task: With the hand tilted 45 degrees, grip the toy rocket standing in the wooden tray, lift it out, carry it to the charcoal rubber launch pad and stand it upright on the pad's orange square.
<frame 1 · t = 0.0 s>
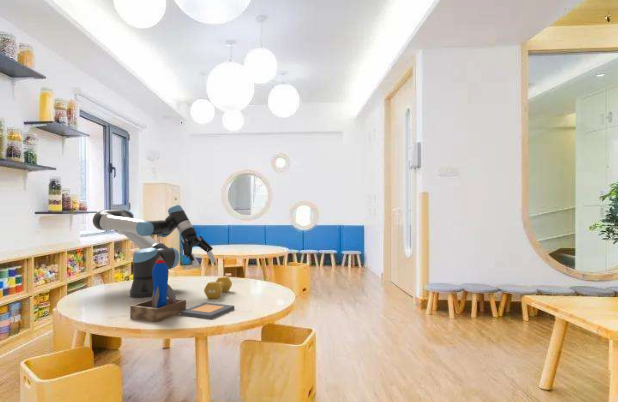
hand: (206, 264, 204), 15 cm above the table, tool tilted 35°, fingers open, 13 cm apart
wooden tray: (158, 314, 165), on the table
launch pad: (208, 312, 168), on the table
dumbbell: (218, 295, 200), on the table
toy rocket: (158, 315, 165), resting in wooden tray
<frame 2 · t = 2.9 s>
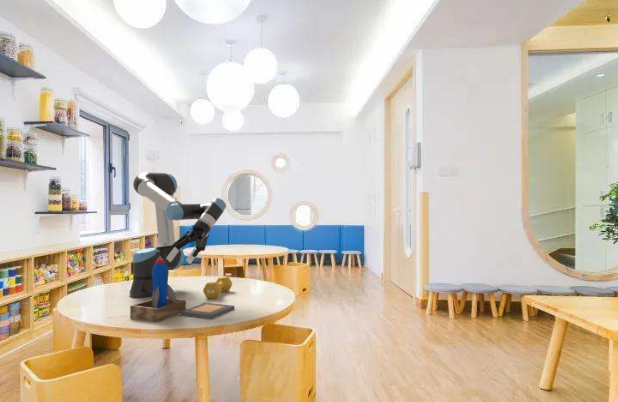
hand: (177, 261, 173), 21 cm above the table, tool tilted 45°, fingers open, 13 cm apart
nothing on the table moved.
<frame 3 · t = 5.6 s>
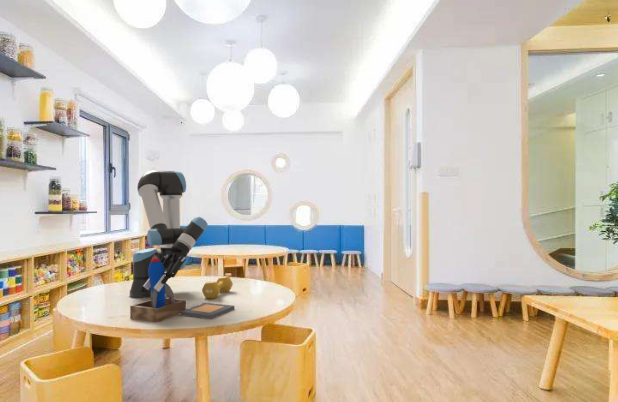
hand: (151, 288, 162), 12 cm above the table, tool tilted 45°, fingers closed on toy rocket, 7 cm apart
toy rocket: (158, 314, 165), resting in wooden tray, touching gripper
everything else where it was.
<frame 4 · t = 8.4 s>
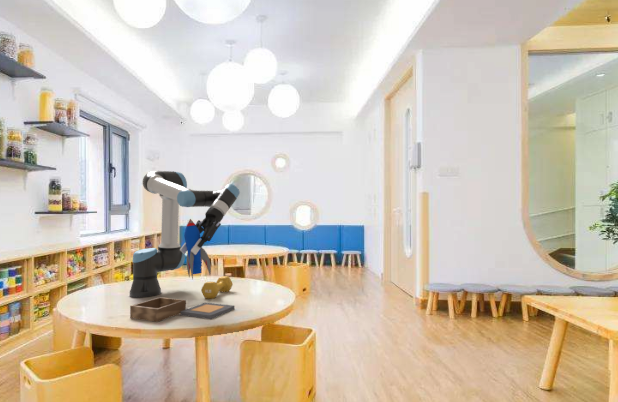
hand: (187, 252, 164), 26 cm above the table, tool tilted 45°, fingers closed on toy rocket, 7 cm apart
toy rocket: (195, 278, 167), point 15 cm above the table, touching gripper
everything else where it was.
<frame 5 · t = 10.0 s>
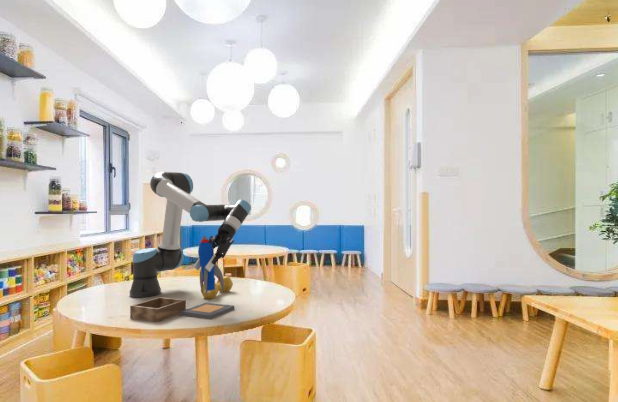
hand: (201, 268, 165), 19 cm above the table, tool tilted 45°, fingers closed on toy rocket, 7 cm apart
toy rocket: (208, 294, 168), point 8 cm above the table, touching gripper
when the fingers open (14 cm above the table, at t = 11.2 s): toy rocket drops 2 cm, resting on launch pad.
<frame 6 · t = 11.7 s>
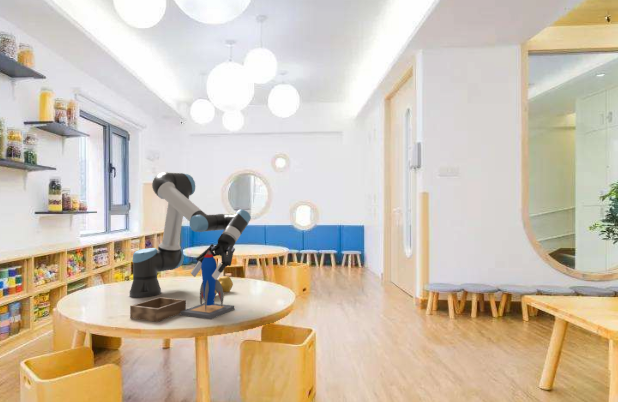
hand: (203, 276, 166), 16 cm above the table, tool tilted 45°, fingers open, 13 cm apart
toy rocket: (207, 308, 169), point 1 cm above the table, touching launch pad
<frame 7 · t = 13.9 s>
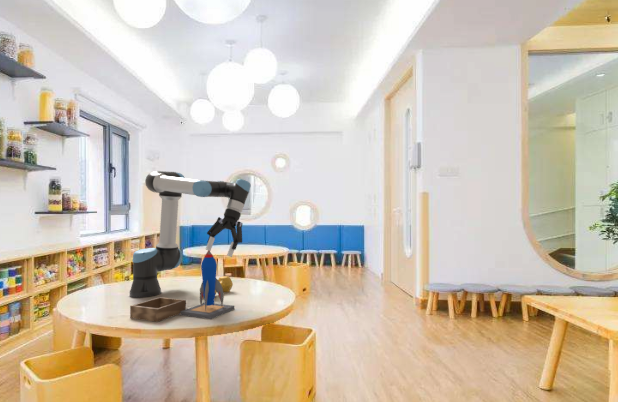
hand: (218, 253, 182), 24 cm above the table, tool tilted 25°, fingers open, 13 cm apart
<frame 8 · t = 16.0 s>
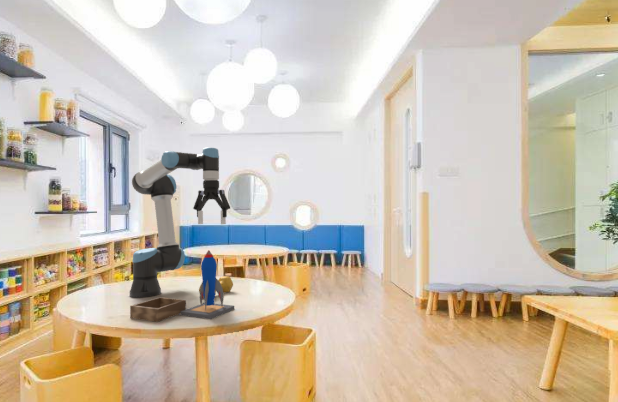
hand: (211, 224, 188), 37 cm above the table, tool pointing down, fingers open, 13 cm apart
at the end: toy rocket 0.6 cm from the launch pad (horizontally); toy rocket tilted 0°; the gripper is holding nothing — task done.
